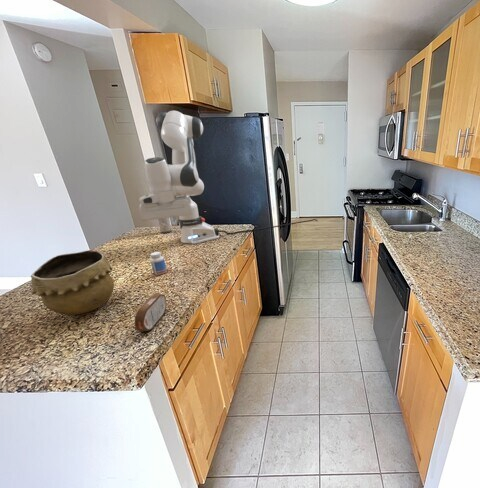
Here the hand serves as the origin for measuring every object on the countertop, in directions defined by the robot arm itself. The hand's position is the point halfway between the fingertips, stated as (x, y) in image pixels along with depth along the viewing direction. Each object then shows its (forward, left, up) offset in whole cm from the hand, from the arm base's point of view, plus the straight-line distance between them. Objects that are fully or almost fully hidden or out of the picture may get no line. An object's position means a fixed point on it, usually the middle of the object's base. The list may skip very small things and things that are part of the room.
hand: (170, 226), depth 119 cm
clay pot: (+32, +19, -21) cm, 43 cm away
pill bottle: (+8, 0, -21) cm, 23 cm away
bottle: (+1, -66, -21) cm, 69 cm away
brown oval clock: (+12, +41, -21) cm, 48 cm away
